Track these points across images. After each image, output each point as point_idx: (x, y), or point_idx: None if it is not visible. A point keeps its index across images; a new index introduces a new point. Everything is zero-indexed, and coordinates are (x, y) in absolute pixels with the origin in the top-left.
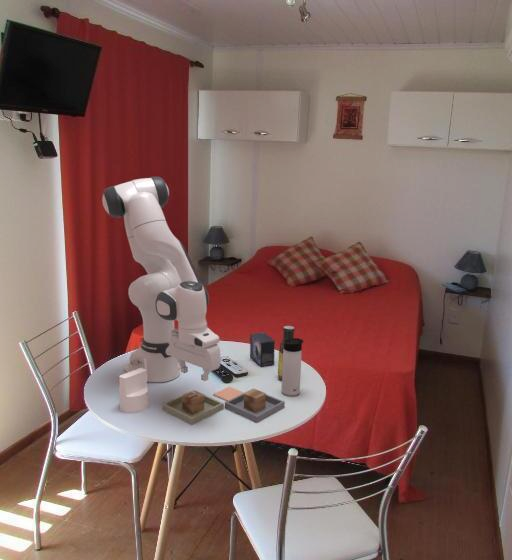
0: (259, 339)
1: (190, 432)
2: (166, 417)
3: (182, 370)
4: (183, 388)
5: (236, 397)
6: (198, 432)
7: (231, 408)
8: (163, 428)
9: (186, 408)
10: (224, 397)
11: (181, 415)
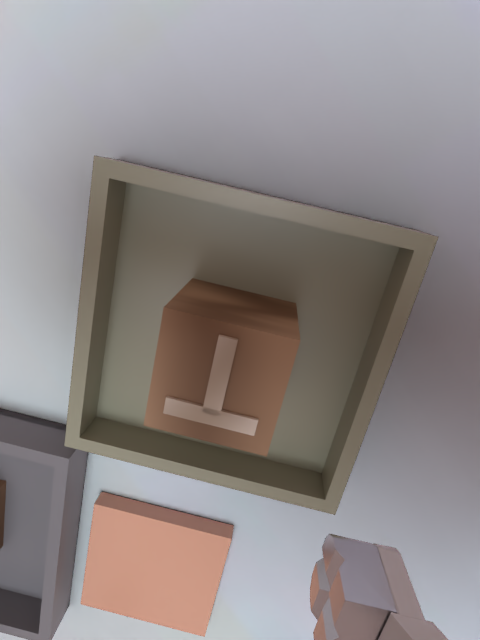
0: None
1: (75, 84)
2: (341, 170)
3: (366, 565)
4: (453, 540)
5: (53, 534)
6: (35, 115)
7: (23, 432)
8: (267, 16)
9: (251, 299)
10: (150, 528)
11: (212, 183)
